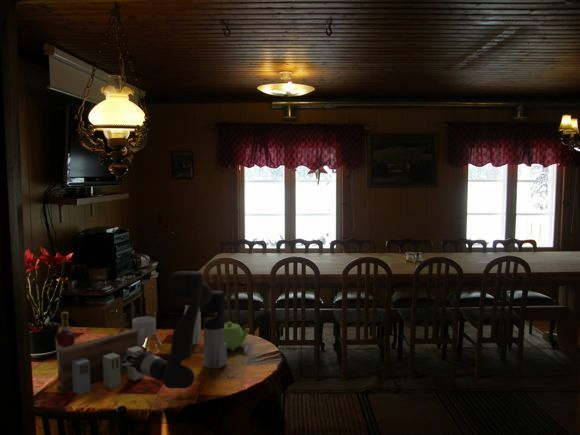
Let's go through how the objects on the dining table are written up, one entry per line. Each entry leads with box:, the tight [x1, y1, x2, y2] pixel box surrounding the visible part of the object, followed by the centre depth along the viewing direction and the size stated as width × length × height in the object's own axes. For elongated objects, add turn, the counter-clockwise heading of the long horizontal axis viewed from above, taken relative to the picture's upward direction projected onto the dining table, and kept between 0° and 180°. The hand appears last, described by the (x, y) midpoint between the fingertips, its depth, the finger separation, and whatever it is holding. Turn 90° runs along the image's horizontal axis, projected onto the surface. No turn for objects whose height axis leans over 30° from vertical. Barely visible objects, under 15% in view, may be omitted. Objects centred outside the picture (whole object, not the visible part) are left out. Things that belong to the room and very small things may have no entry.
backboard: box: [56, 329, 139, 395], centre depth 195 cm, size 6×33×17 cm, turn 140°
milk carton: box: [183, 304, 202, 345], centre depth 240 cm, size 7×7×19 cm
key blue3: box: [72, 358, 91, 396], centre depth 183 cm, size 5×4×12 cm
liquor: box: [54, 311, 76, 382], centre depth 194 cm, size 7×7×28 cm
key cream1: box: [126, 346, 145, 381], centre depth 197 cm, size 5×4×12 cm
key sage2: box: [103, 353, 122, 390], centre depth 189 cm, size 5×4×12 cm
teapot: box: [225, 321, 250, 352], centre depth 233 cm, size 20×13×13 cm
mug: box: [131, 316, 157, 348], centre depth 234 cm, size 15×11×13 cm
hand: (124, 354), depth 181 cm, fingers closed
